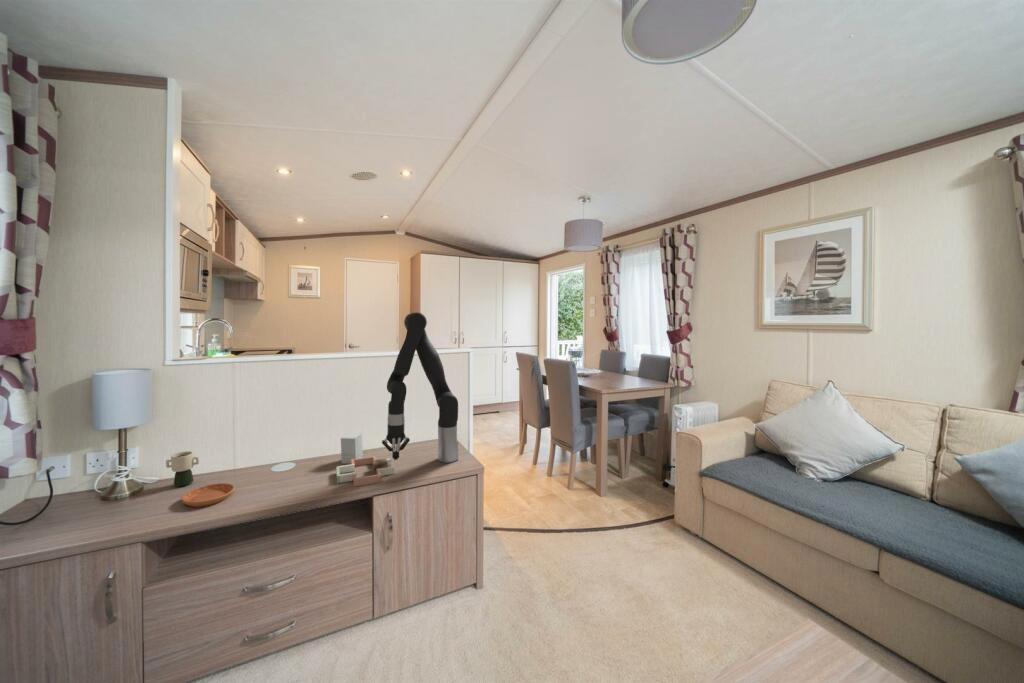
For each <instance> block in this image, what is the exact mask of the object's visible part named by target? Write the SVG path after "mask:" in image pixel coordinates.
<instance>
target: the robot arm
mask: <svg viewBox="0 0 1024 683" xmlns="http://www.w3.org/2000/svg"><path fill="white" fill-rule="evenodd" d="M403 321H404V323H403V324H404V327H405V329H406V334H405V338H404V341H403V342H402V343H403V344H402V346H401V349H400V350H399V351H398V353H397V354H398V355H397V356H396V361H395V363H394V366H393V370H392V372H391V373H390V375H389V378H388V379H387V380H388V381H387V383H386V390H387V392H388V393H390V394H391V396H390V397H391V398H390V401H389V402H388V409H387V410H388V411H387V434H386V438H384V439H382V440H381V444H382V445H383V446H384V447H385V448H386V449H387V450H388V452H392V460H394V461H397V460H398V459H399V458H400V451H403V450H404V449H405V447H406V446H407V445H408V444H409V442H410V441H411V440H410V437H408V436H406V433H405V422H406V420H405V402H406V397H407V385H406V384H405V382H404V379H405V377H407V376H408V375H409V373H410V370H411V367H412V365H413V364H412V363H413V360H414V356H415V353H417V356H418V359H419V362H420V364H421V367H422V369H423V372H424V374H425V376H426V378H427V380H428V382H429V384H430V386H431V387H432V391H433V394H434V398H435V400H436V405H437V406H438V410H439V411H438V420H437V449H438V450H437V461H438V462H440V463H447V464H448V463H453V462H456V461H458V460H459V440H458V420H459V401H458V400H459V399H457V397H456V396H455V395H454V394H453V393H452V390H451V389H450V387H449V385H448V383H447V380H446V374H445V370H444V365H443V363H442V360H441V357H440V355H439V353H438V351H437V349H436V348H435V347H434V345H433V344H432V342H431V340H430V339H429V337H428V334H427V331H426V327H427V324H428V321H427V318H426V316H425V314H423V313H422V312H418V311H417V312H411V313H408V314H407V315H406V316H405V318H404V320H403ZM388 442H389V444H390V445H391V446H390V445H389V444H388Z"/></svg>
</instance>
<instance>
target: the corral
mask: <svg viewBox="0 0 1024 683" xmlns="http://www.w3.org/2000/svg"><path fill="white" fill-rule="evenodd" d="M386 459H387V463H388V467H386V468H379V469H377V474H375V475H374V474H373V475H365V476H361V477H357V476H358V475H357V472H356V466H363V465H372V464H373V460H378V459H377V457H376V455H373V456H365V457H363V458H357V459H351V464H345V465H343V464H342V465H339V466H336V484H340V483H347V482H352V481H353V486H354V487H358V486H359V487H360V486H366V485H371V484H376V483H381V482H383V481H382V477H383V476H388V475H395V466H394V465H393V466H392V458H386Z"/></svg>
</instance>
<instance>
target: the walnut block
mask: <svg viewBox="0 0 1024 683" xmlns="http://www.w3.org/2000/svg"><path fill="white" fill-rule="evenodd" d="M387 459H388V458H382V459H377V460H373V463H372V472H373V475H377V469H379V468H386V467H389V466H388V463H387Z"/></svg>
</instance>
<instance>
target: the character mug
mask: <svg viewBox="0 0 1024 683" xmlns="http://www.w3.org/2000/svg"><path fill="white" fill-rule="evenodd" d="M170 458H171V459H166V460H165V468H168V469H169V468H171V471H172V472H174V480H173V486H174V487H184V486H186V485H189V484H192V482H194V475H193V472H192V469H193V468H194V465H199V464H200V457H199V456H194V451H192V450H191V451H189V450H188V451H187V450H186V451H181V452H177V453H173V454H171V456H170Z"/></svg>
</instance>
